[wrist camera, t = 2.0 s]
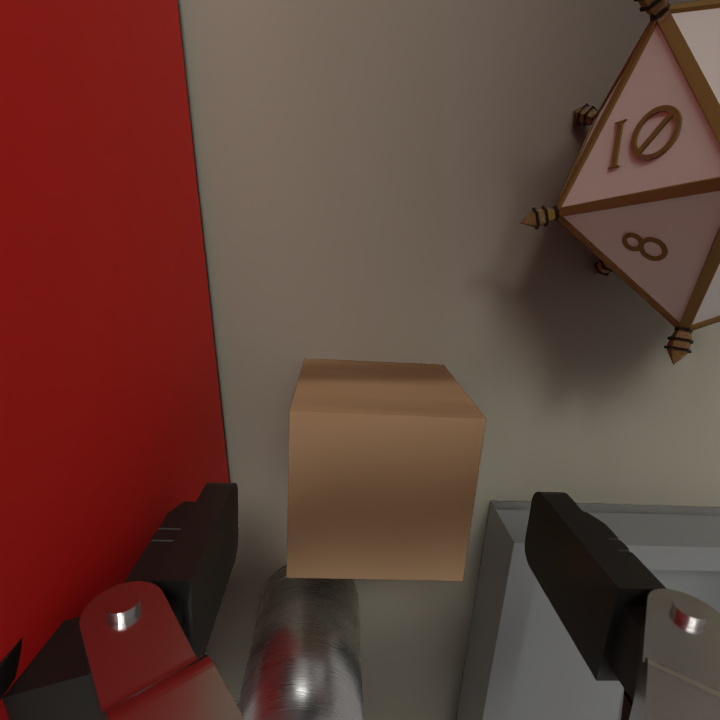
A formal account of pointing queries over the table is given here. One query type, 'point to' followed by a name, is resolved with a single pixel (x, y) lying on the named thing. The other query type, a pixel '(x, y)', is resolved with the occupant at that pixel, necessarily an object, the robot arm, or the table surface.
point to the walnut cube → (381, 471)
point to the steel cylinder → (304, 652)
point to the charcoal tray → (542, 624)
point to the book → (96, 305)
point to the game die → (656, 171)
